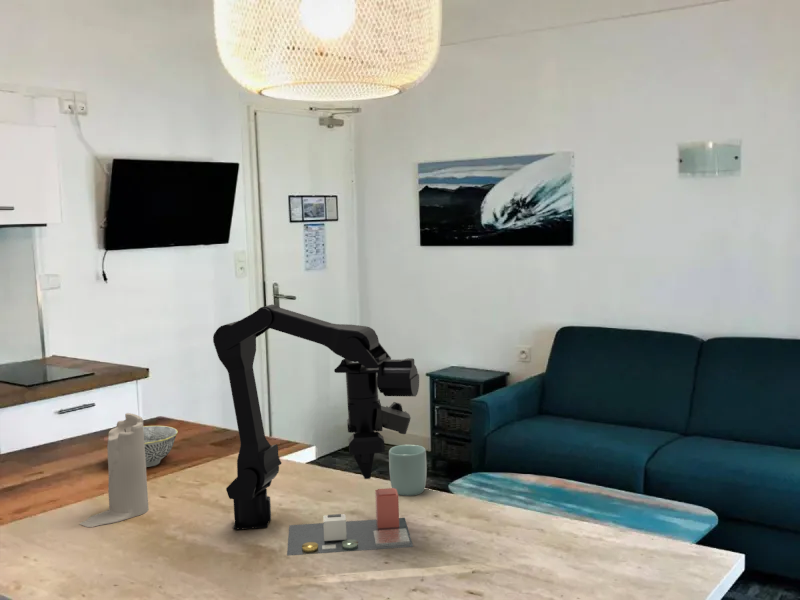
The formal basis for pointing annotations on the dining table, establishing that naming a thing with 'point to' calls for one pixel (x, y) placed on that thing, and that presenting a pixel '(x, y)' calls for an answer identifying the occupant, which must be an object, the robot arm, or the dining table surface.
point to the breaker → (334, 527)
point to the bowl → (158, 443)
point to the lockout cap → (387, 508)
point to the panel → (358, 538)
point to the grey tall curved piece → (125, 473)
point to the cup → (407, 469)
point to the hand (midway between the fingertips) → (367, 478)
